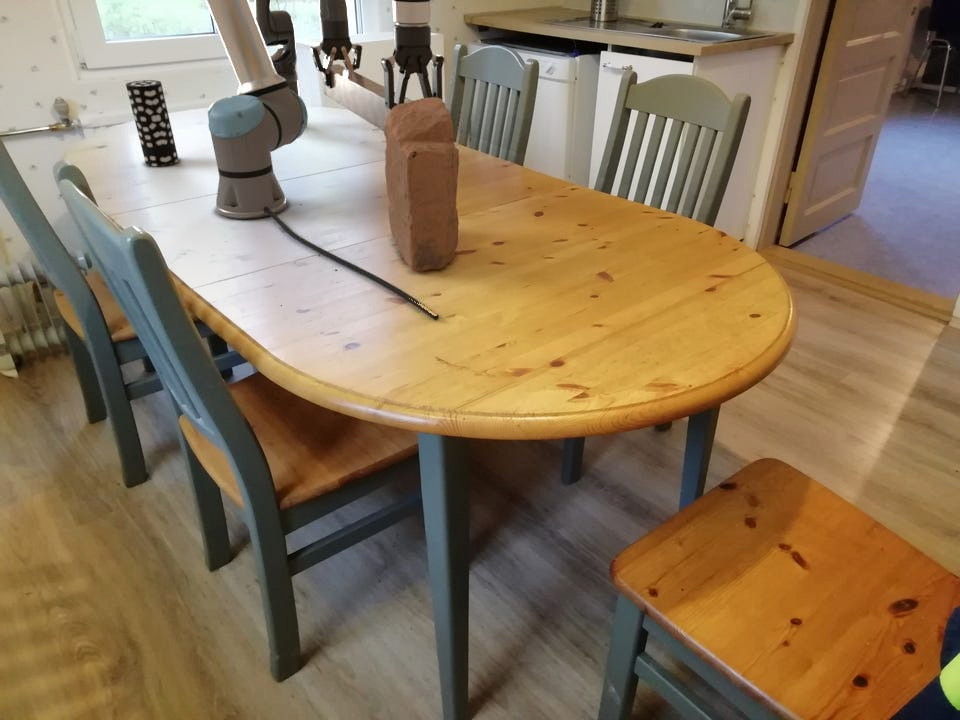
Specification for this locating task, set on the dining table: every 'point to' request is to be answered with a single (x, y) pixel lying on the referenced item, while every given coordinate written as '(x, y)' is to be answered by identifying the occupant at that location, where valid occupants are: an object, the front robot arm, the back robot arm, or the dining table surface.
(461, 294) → the dining table surface
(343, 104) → the beam
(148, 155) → the black white spotted cylinder
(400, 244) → the stone
